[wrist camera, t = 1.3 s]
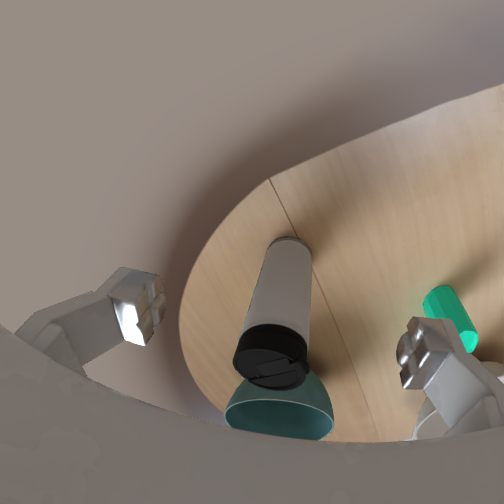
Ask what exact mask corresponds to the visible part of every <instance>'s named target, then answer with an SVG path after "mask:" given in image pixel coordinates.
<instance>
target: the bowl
mask: <svg viewBox="0 0 504 504" xmlns="http://www.w3.org/2000/svg"><path fill="white" fill-rule="evenodd" d="M481 363H482V364H483V365H484V366H485V367H486V368H488V369H489V370H490V371H491V372H492V373H493V374H494V375H495V376H496V377H497V378H498V379H499V380H500V381H501V382H502V383H503V384H504V365H502V364H500V363H496V362H490V361H483V362H481ZM449 429H450V428H449V426H448V425H447V423H446V422H445V420H444V419H443V417H442V416H441V415H440V413H439V412H438V410H437V409H436V407H435V406H434V405H433V403H432V402H431V400H430V399H429V398H428V397H427V399H426V400H425V402H424V404H423V406H422V408H421V410H420V413H419V416H418V419H417V423H416V428H415V430H414V431H413V434H412V438H413V440H423V439H432V438H439V437H441V436H442V435H443V434H445V433H446V432H447V431H448V430H449Z"/></svg>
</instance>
